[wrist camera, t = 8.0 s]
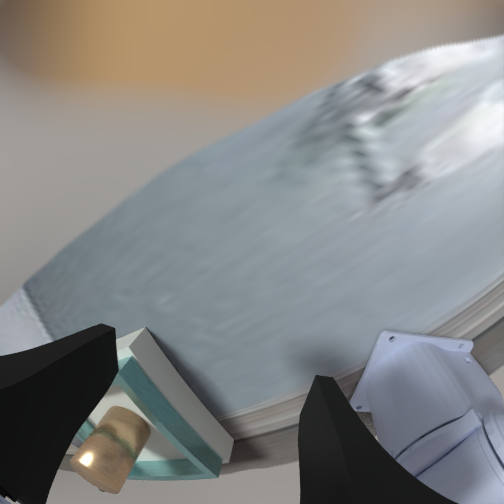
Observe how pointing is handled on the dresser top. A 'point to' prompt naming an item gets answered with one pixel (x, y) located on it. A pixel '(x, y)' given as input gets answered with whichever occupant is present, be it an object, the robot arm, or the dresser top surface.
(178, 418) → the frame
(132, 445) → the bronze metal cylinder
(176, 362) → the dresser top surface
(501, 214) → the dresser top surface
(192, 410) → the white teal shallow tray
